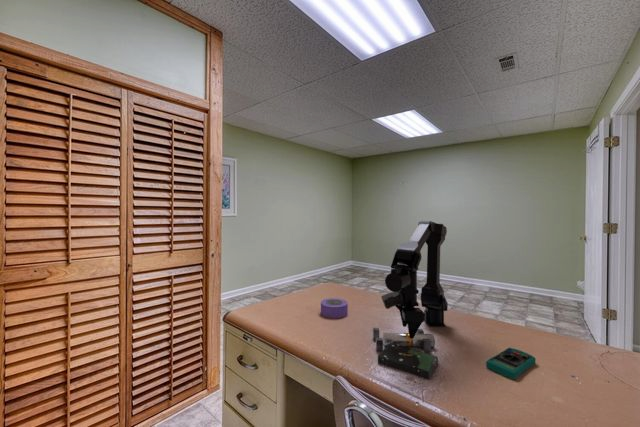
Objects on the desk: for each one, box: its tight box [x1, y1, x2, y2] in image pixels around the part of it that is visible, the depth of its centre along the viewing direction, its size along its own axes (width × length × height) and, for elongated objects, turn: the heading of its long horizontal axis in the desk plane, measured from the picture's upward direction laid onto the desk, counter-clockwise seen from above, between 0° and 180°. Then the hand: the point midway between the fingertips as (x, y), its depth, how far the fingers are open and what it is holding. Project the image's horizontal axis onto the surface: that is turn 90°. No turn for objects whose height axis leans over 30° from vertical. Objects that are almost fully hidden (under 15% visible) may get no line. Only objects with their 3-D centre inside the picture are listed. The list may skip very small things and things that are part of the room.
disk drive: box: [377, 343, 439, 381], centre depth 82 cm, size 10×3×15 cm
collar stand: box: [372, 327, 432, 353], centre depth 94 cm, size 17×10×4 cm, turn 86°
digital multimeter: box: [485, 347, 536, 380], centre depth 81 cm, size 7×15×3 cm, turn 124°
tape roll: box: [320, 297, 349, 319], centre depth 123 cm, size 12×12×5 cm
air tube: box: [382, 332, 436, 348], centre depth 93 cm, size 16×4×4 cm, turn 86°
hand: (407, 332), depth 93 cm, fingers open, 9 cm apart
